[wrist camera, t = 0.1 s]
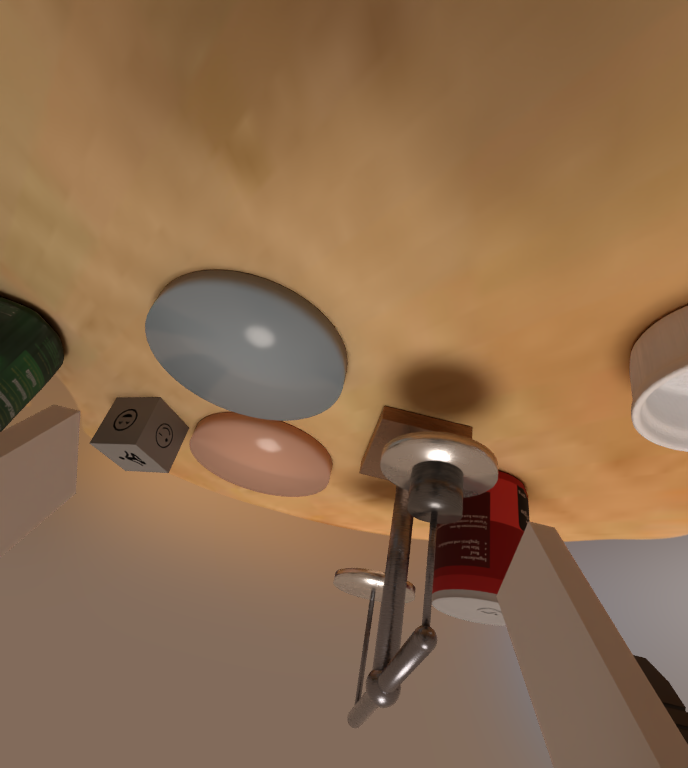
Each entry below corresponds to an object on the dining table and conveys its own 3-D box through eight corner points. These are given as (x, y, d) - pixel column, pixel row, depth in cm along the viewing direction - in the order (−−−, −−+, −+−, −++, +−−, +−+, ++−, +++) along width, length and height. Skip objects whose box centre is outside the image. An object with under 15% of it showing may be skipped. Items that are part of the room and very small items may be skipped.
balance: (407, 346, 29) (352, 728, 18) (515, 373, 29) (532, 771, 18) (348, 490, 49) (304, 716, 37) (413, 506, 49) (389, 736, 37)
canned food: (507, 510, 46) (510, 631, 39) (429, 491, 46) (419, 610, 39) (544, 478, 39) (554, 617, 33) (453, 458, 40) (446, 591, 33)
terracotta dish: (186, 397, 40) (179, 411, 39) (341, 435, 40) (338, 450, 39) (202, 465, 51) (197, 477, 50) (324, 494, 51) (321, 507, 50)
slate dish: (134, 245, 27) (122, 261, 26) (364, 302, 27) (360, 320, 26) (171, 381, 38) (164, 395, 37) (333, 421, 38) (330, 436, 38)
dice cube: (189, 426, 45) (168, 472, 42) (148, 426, 46) (125, 470, 43) (160, 396, 41) (135, 444, 38) (117, 397, 43) (89, 443, 40)
